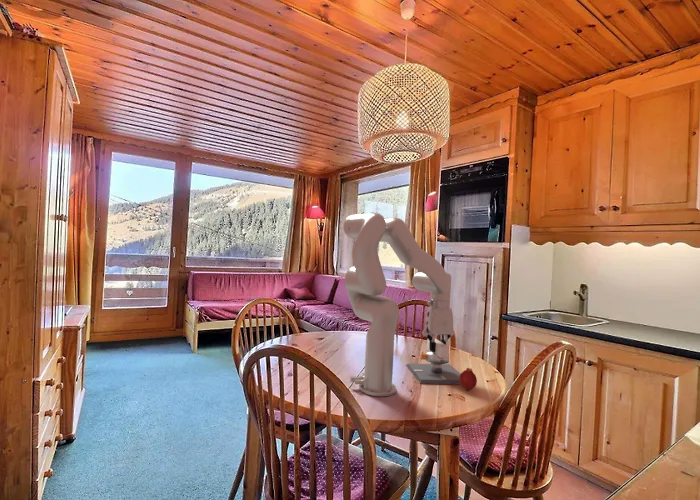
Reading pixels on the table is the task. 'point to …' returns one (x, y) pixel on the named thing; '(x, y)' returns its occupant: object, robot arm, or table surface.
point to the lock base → (435, 373)
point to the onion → (468, 379)
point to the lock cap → (436, 353)
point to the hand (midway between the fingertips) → (437, 350)
